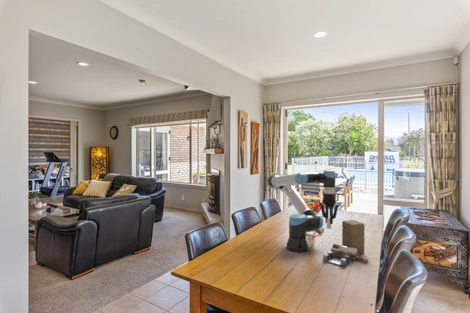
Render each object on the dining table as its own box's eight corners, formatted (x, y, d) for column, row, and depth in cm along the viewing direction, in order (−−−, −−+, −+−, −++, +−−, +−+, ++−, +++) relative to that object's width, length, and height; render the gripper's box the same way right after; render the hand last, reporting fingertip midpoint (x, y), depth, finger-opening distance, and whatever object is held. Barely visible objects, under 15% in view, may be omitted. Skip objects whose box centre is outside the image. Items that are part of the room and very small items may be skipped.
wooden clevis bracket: (330, 256, 171) (330, 248, 171) (337, 251, 179) (337, 244, 179) (365, 265, 157) (365, 256, 157) (370, 259, 165) (370, 251, 165)
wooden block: (351, 255, 173) (352, 224, 173) (341, 249, 183) (342, 220, 183) (364, 253, 176) (364, 223, 176) (354, 248, 185) (354, 219, 185)
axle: (332, 252, 173) (332, 245, 172) (335, 249, 177) (335, 242, 176) (355, 258, 164) (354, 250, 163) (357, 254, 167) (357, 247, 167)
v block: (323, 261, 163) (323, 254, 163) (328, 257, 169) (328, 250, 169) (344, 267, 154) (344, 260, 154) (349, 262, 161) (350, 256, 161)
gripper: (317, 192, 178) (316, 227, 179) (337, 194, 169) (337, 231, 170) (321, 191, 184) (321, 225, 184) (341, 193, 175) (341, 229, 175)
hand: (329, 228), depth 177 cm, fingers closed
